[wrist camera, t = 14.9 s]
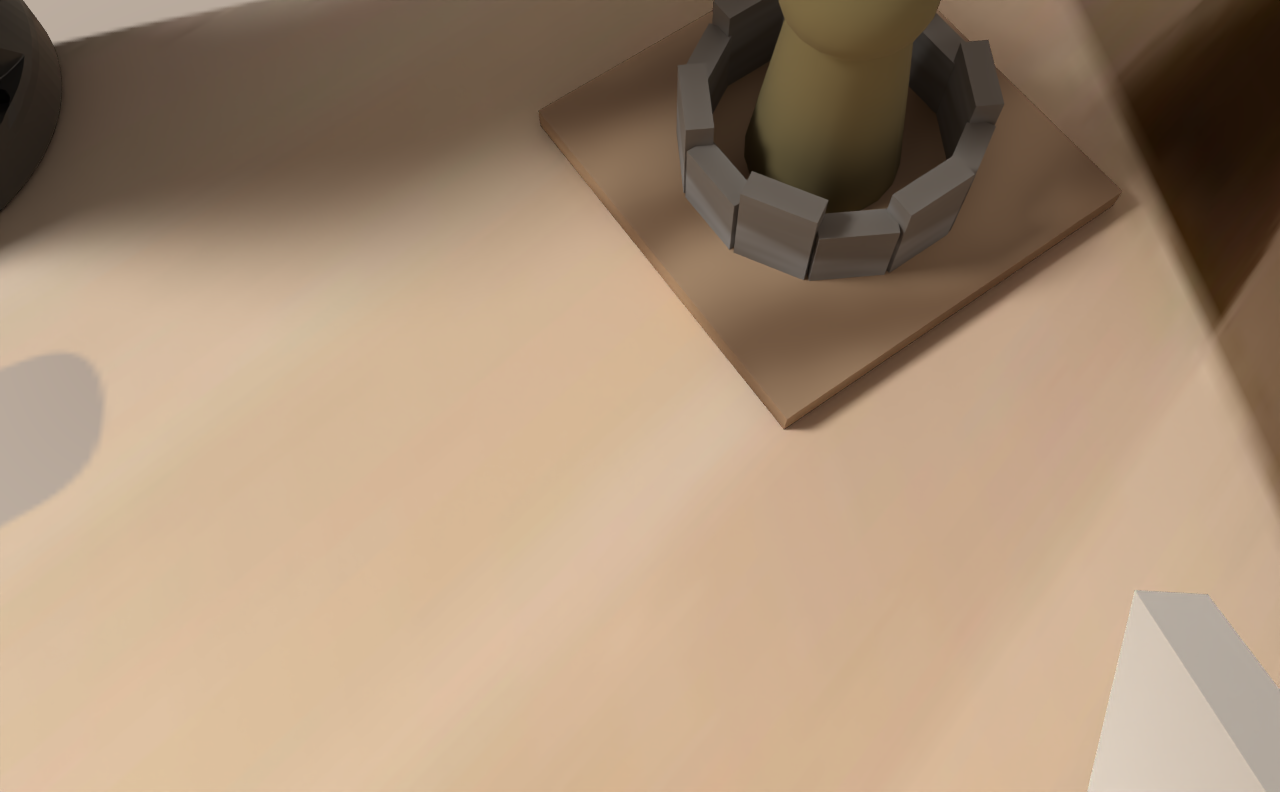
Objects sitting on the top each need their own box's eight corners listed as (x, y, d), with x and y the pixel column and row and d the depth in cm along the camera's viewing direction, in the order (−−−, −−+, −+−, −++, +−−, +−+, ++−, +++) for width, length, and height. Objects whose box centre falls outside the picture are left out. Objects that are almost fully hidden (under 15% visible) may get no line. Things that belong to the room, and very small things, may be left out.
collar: (540, 126, 45) (527, 42, 41) (851, -54, 49) (871, -150, 44) (784, 429, 40) (799, 373, 35) (1112, 205, 43) (1166, 127, 39)
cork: (887, 80, 45) (952, -150, 34) (913, 211, 42) (991, 6, 32) (735, 92, 44) (756, -135, 34) (753, 223, 42) (781, 22, 32)
